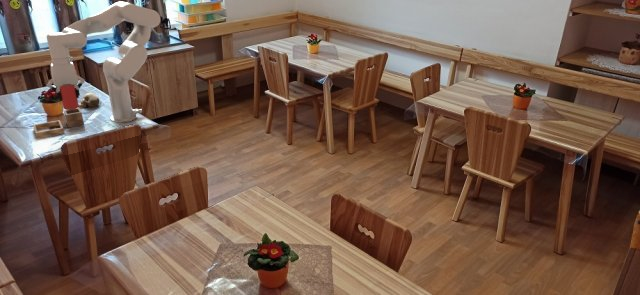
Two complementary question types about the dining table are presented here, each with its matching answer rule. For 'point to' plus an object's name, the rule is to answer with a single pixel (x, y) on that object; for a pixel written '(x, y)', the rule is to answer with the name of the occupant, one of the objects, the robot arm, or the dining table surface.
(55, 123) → the tray
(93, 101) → the skull
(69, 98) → the beer can
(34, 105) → the dining table surface
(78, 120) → the brown square pot
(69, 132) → the coaster
